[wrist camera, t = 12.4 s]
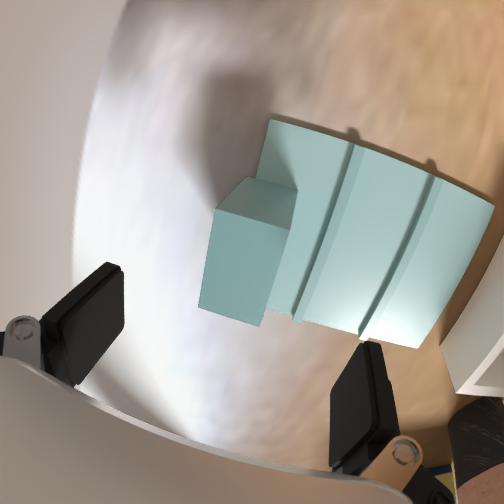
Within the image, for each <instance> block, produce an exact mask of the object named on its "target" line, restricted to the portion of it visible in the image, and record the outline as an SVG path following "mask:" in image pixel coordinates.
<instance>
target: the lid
mask: <svg viewBox="0 0 504 504" xmlns="http://www.w3.org/2000/svg"><path fill="white" fill-rule="evenodd" d="M494 209H495V206H494V205H493V204H491V203H489V202H487V201H485V200H484V199H482V198H480V197H478V196H476V195H474V194H472V193H470V192H468V191H466V190H464V189H462V188H460V187H458V186H456V185H454V184H452V183H450V182H448V181H446V180H444V179H441V178H439V177H437V176H435V175H433V174H430V173H428V172H426V171H424V170H421V169H419V168H417V167H414V166H412V165H410V164H407V163H405V162H402V161H400V160H397V159H395V158H392V157H390V156H387V155H385V154H382V153H379V152H377V151H374V150H371V149H369V148H366V147H363V146H360V145H357V144H354V143H351V142H349V141H346V140H343V139H340V138H336V137H333V136H330V135H327V134H324V133H320V132H317V131H314V130H310V129H307V128H304V127H300V126H296V125H293V124H289V123H285V122H282V121H278V120H274V119H270V121H269V125H268V129H267V133H266V137H265V141H264V145H263V149H262V153H261V157H260V161H259V165H258V170H257V174H256V178H252V177H248V176H246V177H245V178H244V179H243V181H242V182H241V183H240V184H239V185H238V186H237V187H236V188H235V189H234V190H233V191H232V192H231V193H230V194H229V195H228V196H227V197H226V198H225V199H224V200H223V201H222V202H221V203H220V204H219V205H218V206H217V207H216V209H215V213H214V218H213V223H212V229H211V234H210V240H209V245H208V251H207V256H206V262H205V268H204V274H203V280H202V286H201V292H200V298H199V304H198V308H201V309H204V310H208V311H211V312H214V313H217V314H220V315H223V316H226V317H229V318H232V319H236V320H239V321H242V322H245V323H249V324H252V325H255V326H260V323H261V320H262V317H263V314H264V311H265V309H268V310H271V311H275V312H278V313H281V314H285V315H288V316H292V317H293V318H292V321H293V322H297V323H301V321H302V320H306V321H310V322H313V323H317V324H321V325H324V326H328V327H332V328H336V329H339V330H343V331H347V332H351V333H355V334H358V335H359V339H361V340H365V341H367V339H368V337H371V338H375V339H379V340H383V341H387V342H391V343H396V344H400V345H404V346H409V347H413V348H417V349H418V347H419V346H420V344H421V343H422V341H423V340H424V339H425V337H426V336H427V334H428V333H429V331H430V330H431V328H432V327H433V325H434V324H435V322H436V320H437V319H438V317H439V316H440V314H441V313H442V311H443V309H444V308H445V306H446V304H447V303H448V301H449V299H450V298H451V296H452V294H453V293H454V291H455V289H456V287H457V286H458V284H459V282H460V280H461V278H462V277H463V275H464V273H465V271H466V269H467V267H468V265H469V263H470V261H471V259H472V257H473V255H474V253H475V251H476V249H477V247H478V245H479V243H480V241H481V239H482V237H483V234H484V232H485V230H486V228H487V225H488V223H489V221H490V218H491V216H492V214H493V211H494Z"/></svg>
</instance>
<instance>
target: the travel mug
mask: <svg viewBox="0 0 504 504" xmlns="http://www.w3.org/2000/svg"><path fill="white" fill-rule="evenodd" d="M448 429H449V436H450V442H451V448H452V455H453V462H454V469H455V478H456V488H457V496H458V504H504V404H503V402H502V400H501V399H500V398H499V397H492V396H488V397H484V398H481V399H478V400H476V401H474V402H472V403H470V404H469V405H467V406H465V407H464V408H463V409H461V410H460V411H459V412H457V413H456V414H455V415H454V416H453V418H452V419H451V420H450V422H449V425H448Z"/></svg>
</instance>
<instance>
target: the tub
mask: <svg viewBox="0 0 504 504" xmlns="http://www.w3.org/2000/svg"><path fill="white" fill-rule="evenodd" d="M440 349H441V352H442V355H443V357H444V360H445V363H446V366H447V369H448V371H449V374H450V377H451V380H452V383H453V387H454V390H455V393H458V394H468V395H479V396H492V397H504V235H503V237H502V240H501V242H500V244H499V246H498V248H497V250H496V252H495V254H494V256H493V258H492V260H491V262H490V264H489V266H488V268H487V270H486V272H485V274H484V276H483V278H482V279H481V281H480V283H479V285H478V287H477V288H476V290H475V292H474V294H473V295H472V297H471V299H470V300H469V302H468V304H467V305H466V307H465V309H464V310H463V312H462V313H461V315H460V317H459V318H458V320H457V321H456V323H455V324H454V326H453V327H452V329H451V330H450V332H449V333H448V335H447V336H446V338H445V339H444V340H443V342H442V343H441V345H440Z"/></svg>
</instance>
